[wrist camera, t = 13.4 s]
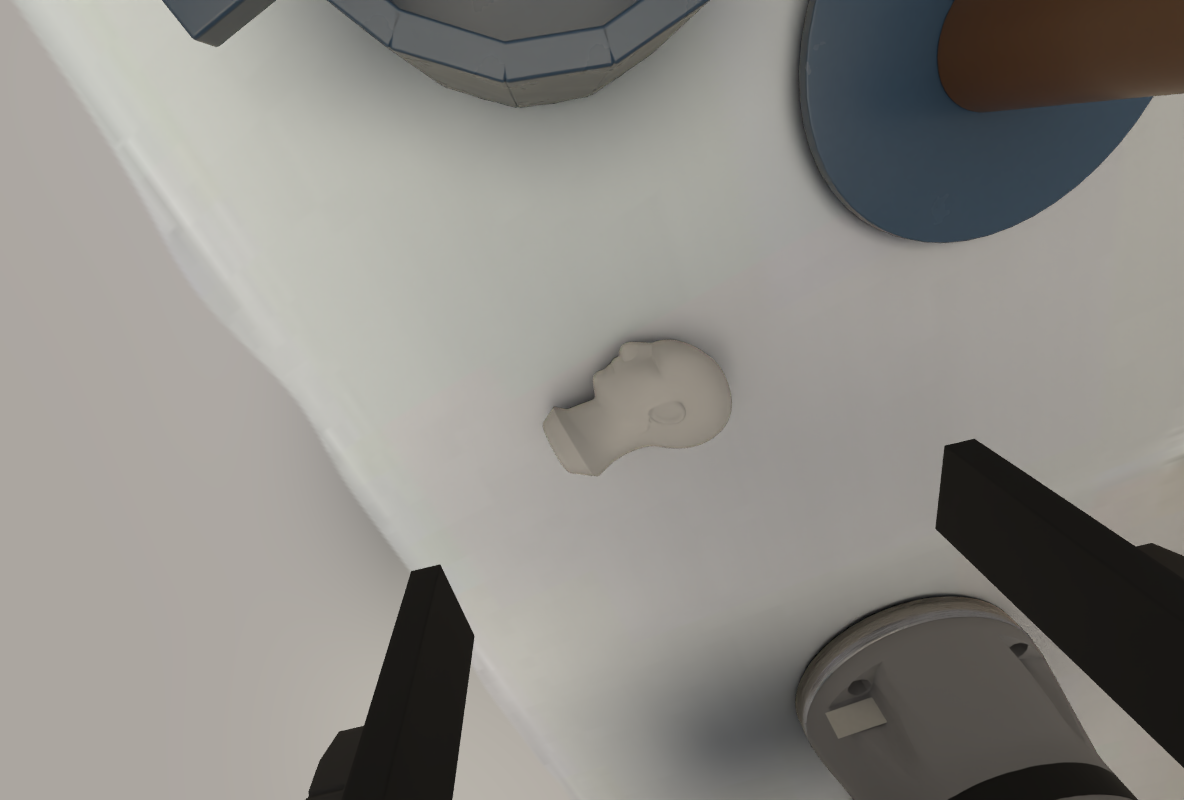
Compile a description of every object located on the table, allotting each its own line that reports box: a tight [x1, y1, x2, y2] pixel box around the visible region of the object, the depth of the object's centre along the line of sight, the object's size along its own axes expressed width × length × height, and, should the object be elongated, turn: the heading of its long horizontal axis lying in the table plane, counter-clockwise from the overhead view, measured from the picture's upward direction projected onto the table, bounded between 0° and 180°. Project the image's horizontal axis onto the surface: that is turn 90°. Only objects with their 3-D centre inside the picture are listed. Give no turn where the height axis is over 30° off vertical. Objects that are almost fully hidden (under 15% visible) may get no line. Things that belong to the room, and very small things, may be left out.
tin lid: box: [799, 0, 1184, 243], centre depth 15 cm, size 14×14×9 cm
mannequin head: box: [543, 339, 732, 476], centre depth 22 cm, size 4×8×5 cm
